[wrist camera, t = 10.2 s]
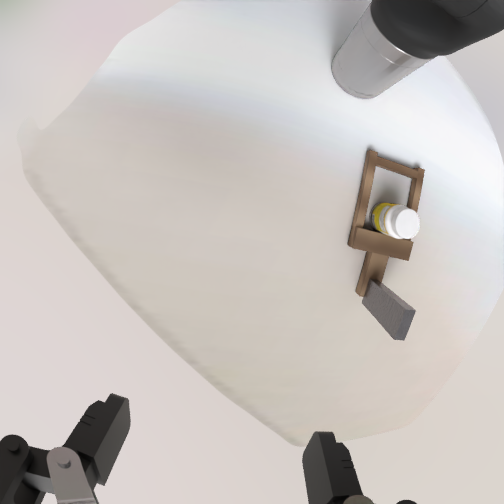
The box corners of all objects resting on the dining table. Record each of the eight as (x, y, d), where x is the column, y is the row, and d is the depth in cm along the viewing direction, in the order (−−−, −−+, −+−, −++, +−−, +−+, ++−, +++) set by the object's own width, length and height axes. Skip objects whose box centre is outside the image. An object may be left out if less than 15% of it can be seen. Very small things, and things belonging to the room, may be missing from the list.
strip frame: (366, 151, 39) (413, 138, 25) (419, 170, 39) (475, 167, 26) (333, 294, 44) (364, 336, 30) (387, 302, 44) (428, 342, 30)
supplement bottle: (400, 214, 41) (428, 220, 33) (384, 238, 42) (410, 249, 34) (379, 195, 40) (405, 198, 32) (363, 220, 41) (386, 228, 33)
